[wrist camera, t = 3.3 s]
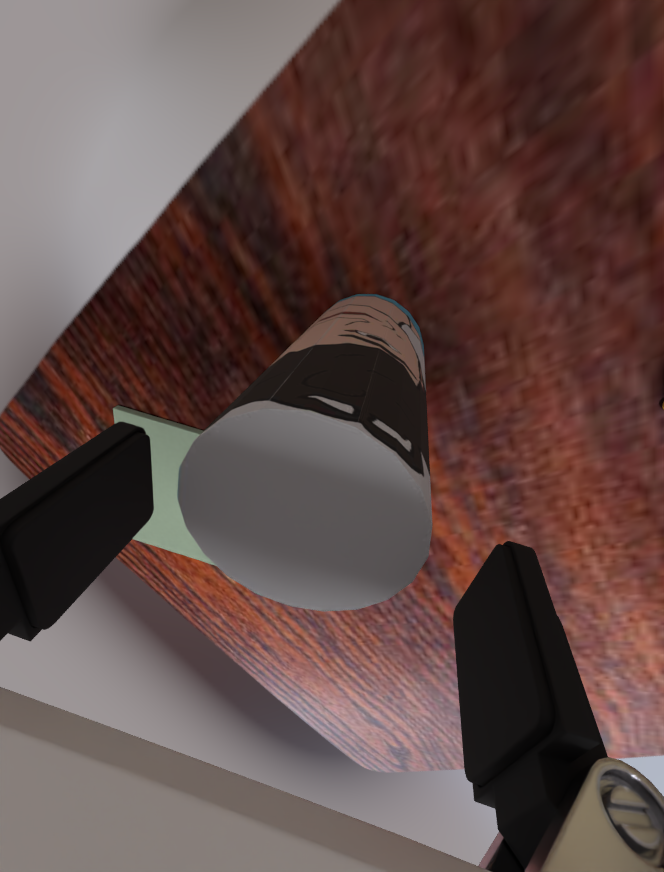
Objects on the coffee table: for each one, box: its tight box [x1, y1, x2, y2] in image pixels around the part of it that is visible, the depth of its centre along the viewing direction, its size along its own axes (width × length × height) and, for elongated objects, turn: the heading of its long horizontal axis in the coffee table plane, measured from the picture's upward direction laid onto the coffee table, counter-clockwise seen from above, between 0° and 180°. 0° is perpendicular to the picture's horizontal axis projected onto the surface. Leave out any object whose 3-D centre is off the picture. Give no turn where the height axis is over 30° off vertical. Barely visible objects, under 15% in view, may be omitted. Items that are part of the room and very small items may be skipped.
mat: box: [113, 405, 215, 565], centre depth 31 cm, size 12×14×1 cm
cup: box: [177, 294, 432, 611], centre depth 16 cm, size 7×7×15 cm
